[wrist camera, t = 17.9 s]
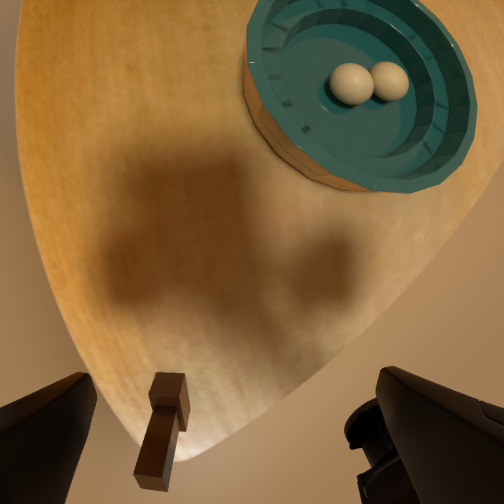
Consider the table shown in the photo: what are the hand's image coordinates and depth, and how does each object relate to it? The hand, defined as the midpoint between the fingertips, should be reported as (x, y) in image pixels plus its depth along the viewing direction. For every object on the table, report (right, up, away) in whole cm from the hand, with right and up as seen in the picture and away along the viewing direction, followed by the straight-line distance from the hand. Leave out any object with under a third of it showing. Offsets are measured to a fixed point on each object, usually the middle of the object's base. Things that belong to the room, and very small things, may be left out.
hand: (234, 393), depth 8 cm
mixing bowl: (+8, +16, +10) cm, 21 cm away
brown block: (-6, -8, +15) cm, 18 cm away
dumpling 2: (+10, +16, +9) cm, 21 cm away
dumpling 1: (+7, +15, +9) cm, 19 cm away
